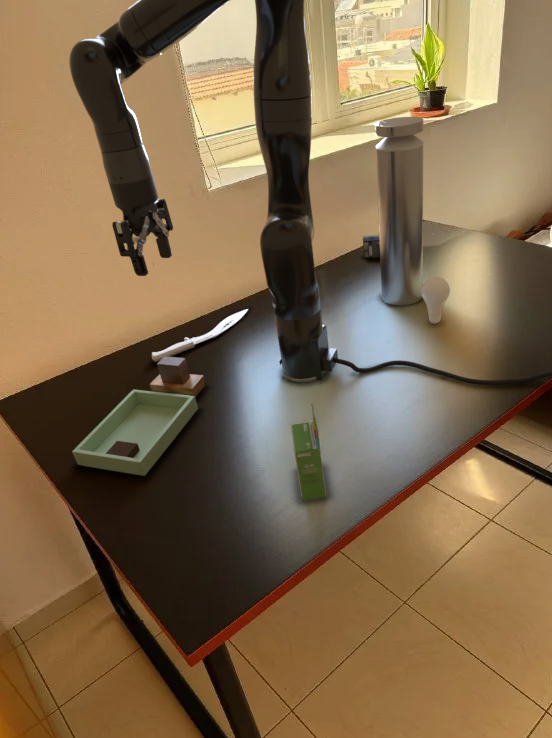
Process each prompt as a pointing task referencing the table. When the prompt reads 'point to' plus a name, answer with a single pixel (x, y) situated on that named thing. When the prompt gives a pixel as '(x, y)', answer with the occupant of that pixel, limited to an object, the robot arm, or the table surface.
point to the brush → (176, 378)
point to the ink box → (308, 459)
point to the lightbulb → (435, 296)
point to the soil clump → (124, 449)
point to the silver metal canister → (400, 209)
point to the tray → (137, 431)
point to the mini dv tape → (371, 246)
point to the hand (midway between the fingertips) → (155, 265)
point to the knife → (198, 338)
